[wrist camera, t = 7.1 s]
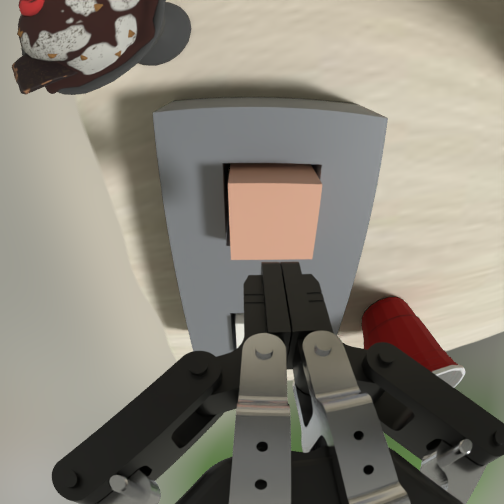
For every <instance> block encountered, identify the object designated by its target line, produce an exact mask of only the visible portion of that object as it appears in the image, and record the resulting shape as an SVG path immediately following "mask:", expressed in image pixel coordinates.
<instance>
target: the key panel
mask: <svg viewBox="0 0 504 504" xmlns="http://www.w3.org/2000/svg"><path fill="white" fill-rule="evenodd" d="M387 120H388V118H386V117H384V116H382V115H380V114H378V113H376V112H374V111H371V110H369V109H367V108H365V107H363V106H360V105H357V104H350V103H341V102H332V101H322V100H310V99H294V98H269V97H231V98H205V99H190V100H178V101H172V102H171V103H169V104H167V105H165V106H163V107H162V108H160V109H158V110H156V111H155V112H153V121H154V132H155V141H156V150H157V159H158V167H159V175H160V182H161V190H162V197H163V203H164V210H165V216H166V222H167V228H168V234H169V240H170V246H171V251H172V256H173V262H174V267H175V272H176V277H177V282H178V287H179V292H180V296H181V301H182V305H183V310H184V314H185V319H186V323H187V327H188V331H189V335H190V340H191V344H192V348H193V351H206V352H209V353H211V354H213V355H214V356H216V357H217V356H220V355H224V354H227V353H230V352H232V351H234V350H235V349H237V343H236V325H235V321H236V314H234V313H244V288H243V284H244V282H245V280H246V279H247V277H248V275H261V262H299V264H300V268H301V272H302V274H312V275H313V276H314V277H315V278H316V279H317V281H318V282H319V284H320V287H321V291H322V294H323V297H324V302H325V304H326V308H327V311H328V315H329V318H330V322H331V326H332V329H333V332H334V334H335V335H336V336H337V333H338V330H339V327H340V324H341V321H342V318H343V315H344V312H345V309H346V305H347V302H348V299H349V296H350V292H351V289H352V286H353V282H354V279H355V275H356V271H357V268H358V264H359V260H360V257H361V253H362V249H363V245H364V241H365V237H366V233H367V229H368V224H369V220H370V216H371V211H372V207H373V202H374V197H375V192H376V187H377V182H378V177H379V171H380V166H381V160H382V154H383V148H384V141H385V135H386V128H387ZM228 163H295V164H311V166H312V167H313V169H314V171H315V172H316V174H317V176H318V178H319V179H320V181H321V183H322V193H321V201H320V209H319V216H318V223H317V231H316V238H315V244H314V251H313V258H312V259H289V260H231V249H230V226H229V200H228V179H229V177H228Z"/></svg>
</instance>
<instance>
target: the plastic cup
mask: <svg viewBox="0 0 504 504" xmlns="http://www.w3.org/2000/svg"><path fill="white" fill-rule="evenodd" d="M362 330H363V337H364V349H367V350H368V349H369V348H370V347H371V346H372V345H373V344H375V343H379V342H386V343H390V344H392V345H394V346H396V347H397V348H398V349H400V350H401V351H403V352H404V353H406V354H407V355H408V356H410V357H411V358H413V359H414V360H415V361H417V362H418V363H420V364H421V365H423V366H424V367H425V368H427V369H428V370H430V371H431V372H432V373H434V374H435V375H437V376H438V377H439V378H441V379H442V380H444V381H445V382H446V383H448V384H449V385H451V386H452V387H453V388H454V387H455V386H456V385H457V384H458V383H459V382H460V381H461V380H462V378H463V376H464V375H465V369H464V367H463V366H461V365H458V364H456V363H455V362H454V361H453V360H452V359H451V357H449V356H448V355H447V353H446V352H445V351H444V350H443V349H442V348H441V347H440V345H439V344H438V343H437V341H436V340H435V338H434V337H433V336H432V334H431V333H430V332H429V330H428V329H427V328H426V326H425V325H424V324H423V323H422V321H421V320H420V319H419V317H417V316H416V315H415V313H414V312H413V311H412V309H411V308H410V307H409V306H408V304H407V303H406V302H404V300H403V299H400V298H398V297H388V298H385V299H382V300H379V301H377V302H376V303H374V304H373V305H371V306H370V307H369V308H368V309H367V310H366V311H365V313H364V315H363V317H362Z"/></svg>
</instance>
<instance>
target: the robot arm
mask: <svg viewBox="0 0 504 504" xmlns="http://www.w3.org/2000/svg"><path fill="white" fill-rule="evenodd" d="M243 288H244V339H243V341H242V343H241V345H240V346H239V347H238V348H237V349H235V350H234V351H232V352H230V353H227V354H224V355H220V356H217V357H216V356H214V355H213V354H211V353H209V352H206V351H193V352H190V353H188V354H186V355H184V356H183V357H182V358H181V359H180V360H179V361H177V362H176V363H175V364H174V365H173V366H172V367H171V368H170V369H168V370H167V371H166V372H165V373H164V374H163V375H162V376H160V377H159V378H158V379H157V380H156V381H155V382H154V383H152V384H151V385H150V386H149V387H148V388H147V389H145V390H144V391H143V392H142V393H141V394H140V395H139V396H138V397H136V398H135V399H134V400H133V401H131V402H130V403H129V404H128V405H127V406H126V407H124V408H123V409H122V410H121V411H120V412H118V413H117V414H116V415H115V416H114V417H113V418H111V419H110V420H109V421H108V422H107V423H105V424H104V425H103V426H102V427H101V428H99V429H98V430H97V431H96V432H95V433H93V434H92V435H91V436H90V437H89V438H87V439H86V440H85V441H84V442H82V443H81V444H80V445H79V446H77V447H76V448H75V449H74V450H73V451H71V452H70V453H69V454H68V455H66V456H65V457H64V458H63V459H61V460H60V461H59V462H58V463H57V464H56V465H55V467H54V468H53V471H52V481H53V484H54V487H55V489H56V490H57V491H58V493H59V494H60V495H61V496H63V497H64V498H66V499H68V500H71V501H74V502H77V503H79V504H158V503H159V501H160V497H161V493H160V489H159V486H158V485H157V483H156V482H155V480H156V479H157V478H158V477H159V476H161V475H162V474H163V473H164V472H165V471H166V470H167V469H168V468H169V467H170V466H171V465H173V464H174V463H175V462H176V461H177V460H178V459H179V458H180V457H181V456H182V455H183V454H184V453H185V452H186V451H187V450H188V449H189V448H190V447H191V446H192V445H193V444H194V443H195V442H196V441H197V440H198V439H199V438H200V437H201V436H202V435H203V434H204V433H205V432H206V431H207V430H208V429H209V428H210V427H211V426H212V425H213V424H214V423H215V422H216V421H217V420H218V419H219V417H221V416H222V415H223V413H224V412H226V411H229V410H233V409H236V408H237V410H236V421H235V434H234V446H233V457H230V458H227V459H225V460H223V461H220V462H218V463H217V464H215V465H214V466H212V467H211V468H210V469H209V470H207V471H206V472H205V473H204V474H203V475H202V476H201V477H200V478H199V479H198V480H197V482H196V483H195V484H194V485H193V486H192V487H191V488H190V489H189V490H188V491H187V492H186V493H185V494H184V495H183V496H182V497H181V498H180V499H179V500H178V501H177V502H176V503H175V504H466V503H467V501H468V499H469V498H470V496H471V494H472V492H473V491H474V489H475V487H476V485H477V483H478V481H479V480H480V478H481V476H482V474H483V471H484V470H485V468H486V465H487V464H488V463H490V462H492V461H494V460H495V459H497V458H499V457H500V456H502V455H504V423H502V422H501V421H500V420H498V419H497V418H495V417H494V416H493V415H491V414H490V413H488V412H487V411H486V410H484V409H483V408H481V407H480V406H479V405H477V404H476V403H474V402H473V401H472V400H470V399H469V398H467V397H466V396H465V395H463V394H462V393H460V392H459V391H458V390H456V389H455V388H453V387H452V386H451V385H449V384H448V383H446V382H445V381H444V380H442V379H441V378H439V377H438V376H437V375H435V374H434V373H432V372H431V371H430V370H428V369H427V368H425V367H424V366H423V365H421V364H420V363H418V362H417V361H415V360H414V359H413V358H411V357H410V356H408V355H407V354H406V353H404V352H403V351H401V350H400V349H398V348H397V347H396V346H394V345H392V344H390V343H386V342H379V343H375V344H373V345H372V346H371V347H370V348H369V349H368V350H367V349H361V348H356V347H351V346H348V345H346V344H344V343H342V341H341V340H340V338H339V337H338V336H336V335H335V334H334V332H333V329H332V326H331V322H330V318H329V315H328V311H327V308H326V304H325V302H324V297H323V294H322V291H321V287H320V284H319V282H318V281H317V279H316V278H315V277H314V276H313V275H312V274H302V272H301V268H300V264H299V262H261V275H248V277H247V279H246V280H245V282H244V284H243ZM287 369H293V372H294V381H293V391H294V396H295V400H296V405H297V409H298V414H299V419H300V424H301V429H302V448H303V452H296V451H291V424H290V407H289V404H288V401H287ZM383 432H384V433H386V434H387V435H388V436H390V437H391V438H392V439H394V440H395V441H396V442H398V443H399V444H401V445H402V446H403V447H405V448H406V449H407V450H409V451H410V452H411V453H413V454H414V455H415V456H417V457H418V458H420V459H421V460H422V464H421V468H420V471H419V470H418V469H417V468H415V467H414V466H413V465H412V464H410V463H409V462H408V461H407V460H405V459H404V458H403V457H402V456H400V455H399V454H398V453H396V452H395V451H393V450H392V449H390V448H388V445H387V442H386V439H385V436H384V433H383Z"/></svg>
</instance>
